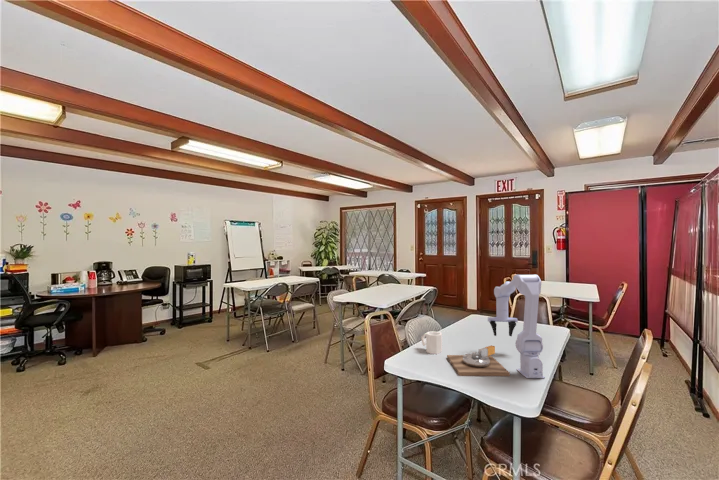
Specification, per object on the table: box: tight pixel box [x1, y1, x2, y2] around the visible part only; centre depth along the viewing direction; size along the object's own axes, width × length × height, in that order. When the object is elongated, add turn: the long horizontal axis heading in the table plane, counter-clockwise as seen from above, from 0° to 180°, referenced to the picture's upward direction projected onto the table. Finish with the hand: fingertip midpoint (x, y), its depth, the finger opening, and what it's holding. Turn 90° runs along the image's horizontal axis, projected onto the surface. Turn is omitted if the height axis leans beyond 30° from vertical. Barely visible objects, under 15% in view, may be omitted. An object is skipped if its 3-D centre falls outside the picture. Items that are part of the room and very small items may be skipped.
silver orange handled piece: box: [462, 345, 496, 367], centre depth 154 cm, size 20×12×6 cm, turn 123°
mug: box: [420, 330, 443, 355], centre depth 174 cm, size 12×9×10 cm
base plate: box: [446, 354, 511, 377], centre depth 152 cm, size 22×22×2 cm
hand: (502, 335), depth 168 cm, fingers open, 7 cm apart
